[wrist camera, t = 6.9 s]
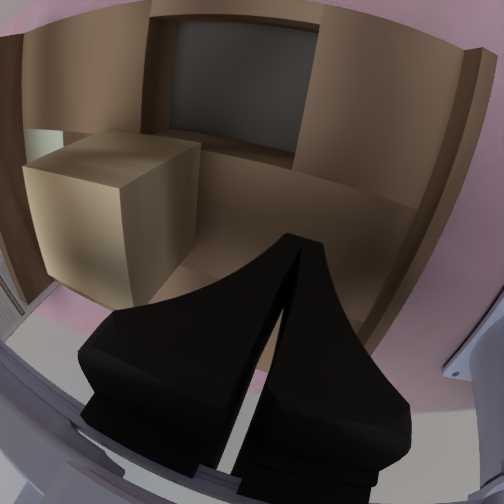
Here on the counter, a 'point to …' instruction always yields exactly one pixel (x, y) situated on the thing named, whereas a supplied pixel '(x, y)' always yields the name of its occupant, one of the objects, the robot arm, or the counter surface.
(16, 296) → the syrup box
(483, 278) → the counter surface
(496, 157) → the counter surface
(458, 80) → the trap board
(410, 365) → the counter surface
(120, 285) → the maple block
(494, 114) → the counter surface
